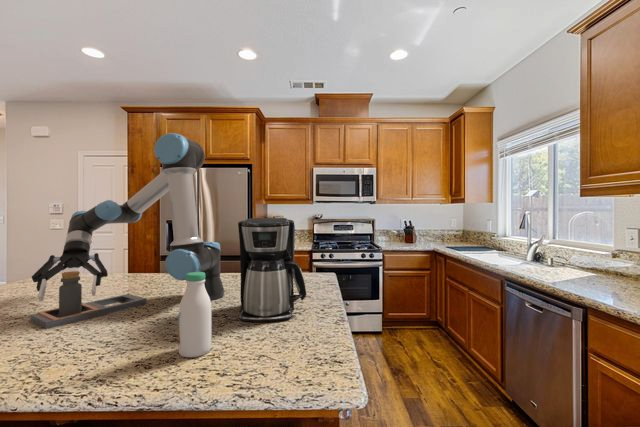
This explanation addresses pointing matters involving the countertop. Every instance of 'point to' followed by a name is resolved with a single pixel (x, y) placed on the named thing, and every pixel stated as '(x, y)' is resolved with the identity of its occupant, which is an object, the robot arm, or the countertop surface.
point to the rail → (86, 311)
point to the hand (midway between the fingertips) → (67, 296)
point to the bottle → (70, 294)
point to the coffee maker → (268, 269)
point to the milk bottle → (195, 317)
